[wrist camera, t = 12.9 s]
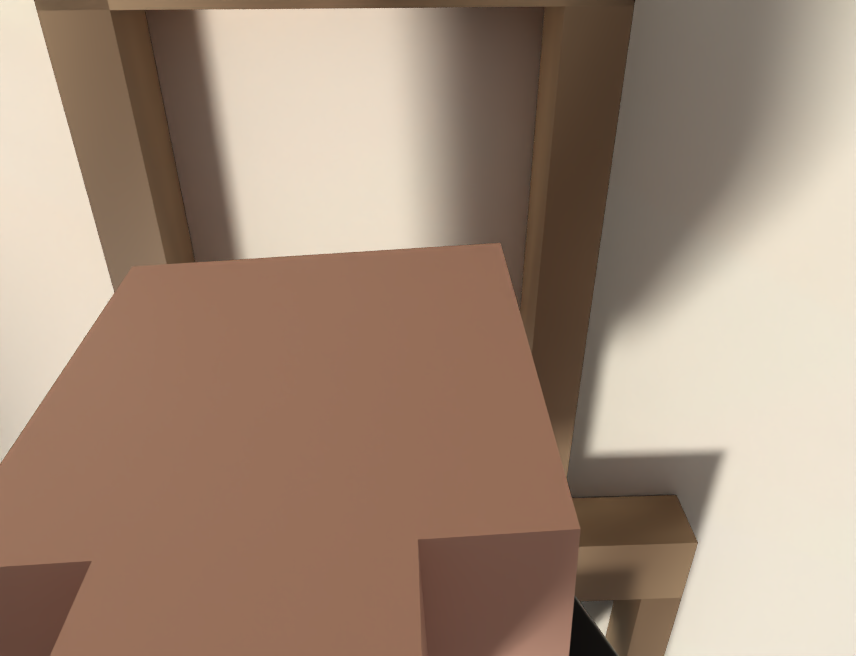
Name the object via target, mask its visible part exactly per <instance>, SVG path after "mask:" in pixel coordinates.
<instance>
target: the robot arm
mask: <svg viewBox="0 0 856 656" xmlns="http://www.w3.org/2000/svg"><path fill="white" fill-rule="evenodd" d="M569 656H619V655H618V654H617V653H616V651H615V650H614V648H613V647H612V646H611V644H610V643H609V642H608V640H607V639H606V637H605V636H604V635H603V633H602V632H601V631H600V629H599V628H598V626H597V625H596V624H595V622H594V621H593V619H592V618H591V617H590V615H589V614H588V613H587V611H586V610H585V608H584V607H583V606H582V604H581V603H580V602H579V600H578V599H577V597H576V596H575V595H574V606H573V617H572V628H571V639H570V650H569Z"/></svg>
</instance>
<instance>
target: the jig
mask: <svg viewBox="0 0 856 656" xmlns="http://www.w3.org/2000/svg"><path fill="white" fill-rule="evenodd" d="M34 2H35V6H36V9H37V13H38V17H39V20H40V24H41V28H42V31H43V35H44V38H45V42H46V46H47V49H48V53H49V57H50V60H51V64H52V68H53V71H54V75H55V78H56V82H57V86H58V89H59V93H60V97H61V100H62V104H63V107H64V111H65V115H66V118H67V122H68V126H69V129H70V133H71V136H72V140H73V144H74V147H75V151H76V155H77V158H78V162H79V166H80V169H81V173H82V176H83V180H84V184H85V187H86V191H87V195H88V198H89V202H90V205H91V209H92V213H93V216H94V220H95V224H96V227H97V231H98V235H99V238H100V242H101V245H102V249H103V253H104V256H105V260H106V264H107V267H108V271H109V274H110V278H111V282H112V285H113V289H114V293H115V291H116V290H117V288H118V287H119V285H120V284H121V282H122V281H123V279H124V278H125V276H126V275H127V274H128V272H129V271H130V269H131V268H132V266H147V265H162V264H178V263H193V262H195V259H194V254H193V249H192V244H191V239H190V234H189V229H188V224H187V219H186V214H185V209H184V204H183V199H182V194H181V189H180V184H179V179H178V174H177V169H176V164H175V159H174V154H173V149H172V144H171V139H170V134H169V129H168V124H167V119H166V114H165V109H164V104H163V99H162V94H161V89H160V84H159V79H158V74H157V69H156V64H155V59H154V54H153V49H152V44H151V39H150V34H149V29H148V24H147V19H146V14H145V10H185V9H310V8H436V7H545V8H544V21H543V33H542V46H541V58H540V71H539V83H538V95H537V108H536V120H535V133H534V145H533V157H532V170H531V182H530V195H529V207H528V219H527V232H526V244H525V257H524V269H523V282H522V294H521V306H520V314H521V318H522V321H523V325H524V328H525V332H526V336H527V339H528V343H529V346H530V350H531V353H532V357H533V361H534V364H535V368H536V371H537V375H538V378H539V382H540V386H541V389H542V393H543V396H544V400H545V404H546V407H547V411H548V414H549V418H550V421H551V425H552V429H553V432H554V436H555V439H556V443H557V447H558V450H559V454H560V457H561V461H562V464H563V468H564V472H565V475H566V479H567V472H568V465H569V458H570V451H571V444H572V437H573V430H574V423H575V416H576V409H577V402H578V395H579V388H580V381H581V374H582V367H583V360H584V353H585V346H586V339H587V332H588V325H589V318H590V311H591V304H592V297H593V290H594V283H595V276H596V269H597V262H598V255H599V248H600V241H601V234H602V227H603V220H604V213H605V206H606V199H607V192H608V185H609V178H610V171H611V164H612V157H613V150H614V143H615V136H616V129H617V122H618V115H619V108H620V101H621V94H622V87H623V80H624V73H625V66H626V59H627V52H628V45H629V38H630V31H631V24H632V17H633V10H634V3H635V0H34ZM572 500H573V504H574V507H575V511H576V515H577V518H578V522H579V525H580V540H579V551H578V562H577V573H576V584H575V596H576V597H577V599H578V600H579V601H603V600H614V602H613V606H612V611H611V615H610V620H609V624H608V629H607V634H606V639H607V640H608V642H609V643H610V644H611V646H612V647H613V648H614V650H615V651H616V653H617V654H618V655H619V656H664V654H665V651H666V647H667V644H668V641H669V637H670V634H671V631H672V627H673V624H674V621H675V617H676V614H677V611H678V608H679V604H680V601H681V598H682V594H683V591H684V588H685V584H686V581H687V578H688V574H689V571H690V568H691V564H692V561H693V558H694V554H695V551H696V548H697V544H698V542H697V540H696V537H695V535H694V533H693V531H692V529H691V526H690V524H689V522H688V520H687V517H686V515H685V513H684V511H683V509H682V506H681V504H680V502H679V500H678V498H677V495H663V496H632V497H600V498H572Z"/></svg>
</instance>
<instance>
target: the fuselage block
mask: <svg viewBox="0 0 856 656" xmlns="http://www.w3.org/2000/svg"><path fill="white" fill-rule="evenodd" d="M579 540H580V525H579V522H578V518H577V515H576V511H575V507H574V504H573V500H572V497H571V493H570V489H569V486H568V482H567V479H566V475H565V472H564V468H563V464H562V461H561V457H560V454H559V450H558V447H557V443H556V439H555V436H554V432H553V429H552V425H551V421H550V418H549V414H548V411H547V407H546V404H545V400H544V396H543V393H542V389H541V386H540V382H539V378H538V375H537V371H536V368H535V364H534V361H533V357H532V353H531V350H530V346H529V343H528V339H527V336H526V332H525V328H524V325H523V321H522V318H521V314H520V310H519V307H518V303H517V300H516V296H515V293H514V289H513V285H512V282H511V278H510V275H509V271H508V268H507V264H506V260H505V257H504V253H503V250H502V246H501V243H489V244H474V245H458V246H442V247H427V248H411V249H396V250H380V251H365V252H349V253H333V254H318V255H302V256H287V257H271V258H256V259H240V260H225V261H209V262H193V263H178V264H162V265H147V266H132V268H131V269H130V271H129V272H128V274H127V275H126V276H125V278H124V279H123V281H122V282H121V284H120V285H119V287H118V288H117V290H116V291H115V293H114V294H113V296H112V297H111V299H110V300H109V302H108V303H107V305H106V306H105V308H104V309H103V311H102V312H101V314H100V315H99V317H98V318H97V320H96V321H95V323H94V324H93V326H92V327H91V329H90V330H89V332H88V333H87V335H86V336H85V338H84V339H83V341H82V342H81V344H80V345H79V347H78V348H77V350H76V351H75V353H74V354H73V356H72V357H71V359H70V360H69V362H68V363H67V365H66V366H65V368H64V369H63V371H62V372H61V374H60V375H59V377H58V378H57V380H56V381H55V383H54V384H53V386H52V387H51V389H50V390H49V392H48V393H47V395H46V396H45V398H44V399H43V401H42V402H41V404H40V405H39V407H38V408H37V410H36V411H35V413H34V414H33V416H32V417H31V419H30V420H29V422H28V423H27V425H26V426H25V428H24V429H23V431H22V432H21V434H20V435H19V437H18V438H17V440H16V441H15V443H14V444H13V446H12V447H11V449H10V450H9V452H8V453H7V455H6V456H5V458H4V459H3V461H2V462H1V464H0V656H569V650H570V639H571V628H572V617H573V606H574V595H575V584H576V573H577V562H578V551H579Z"/></svg>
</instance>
